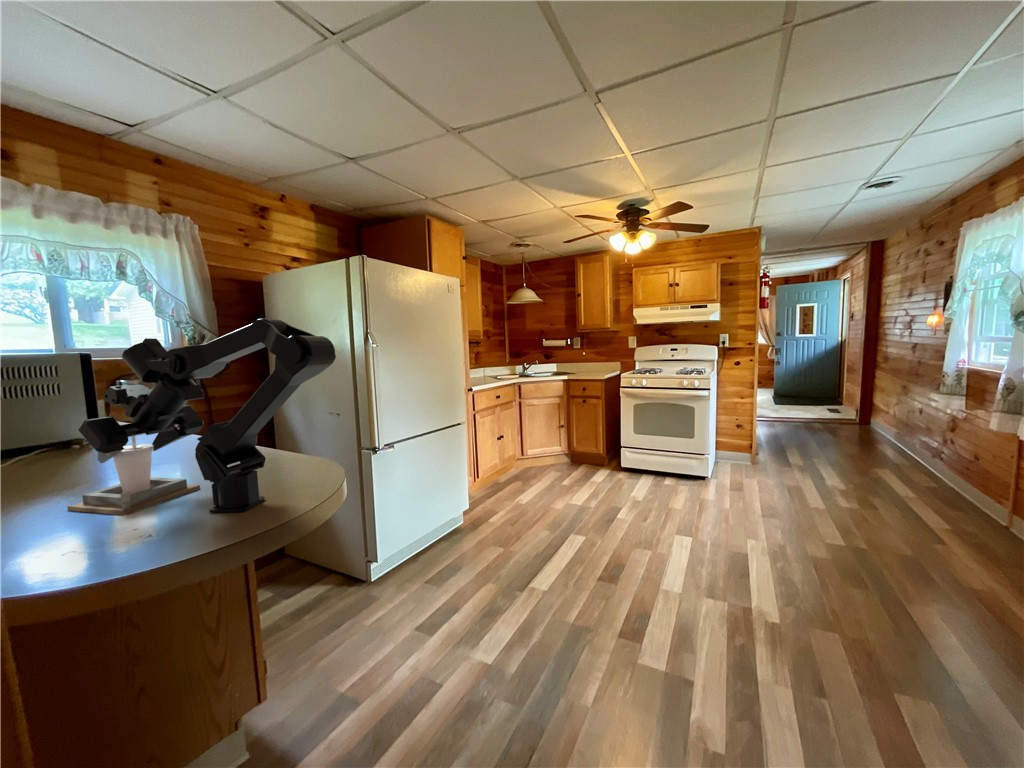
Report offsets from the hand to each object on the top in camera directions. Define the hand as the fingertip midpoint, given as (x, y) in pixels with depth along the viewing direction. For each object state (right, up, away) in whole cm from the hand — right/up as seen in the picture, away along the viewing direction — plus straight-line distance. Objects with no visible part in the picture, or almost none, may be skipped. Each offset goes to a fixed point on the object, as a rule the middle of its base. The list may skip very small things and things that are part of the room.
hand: (128, 455), depth 82 cm
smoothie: (+2, -8, 0) cm, 8 cm away
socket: (+2, -9, 0) cm, 9 cm away
